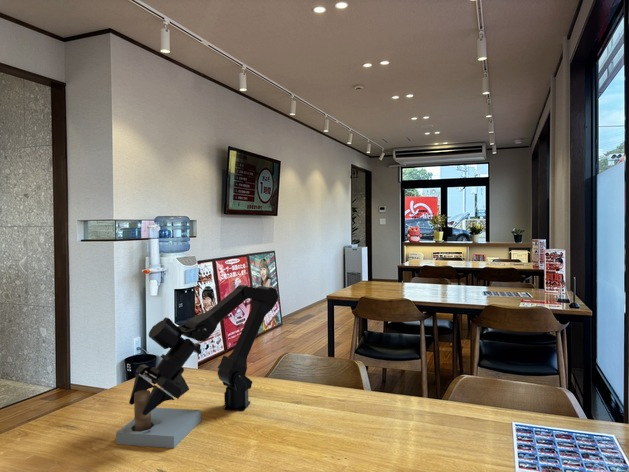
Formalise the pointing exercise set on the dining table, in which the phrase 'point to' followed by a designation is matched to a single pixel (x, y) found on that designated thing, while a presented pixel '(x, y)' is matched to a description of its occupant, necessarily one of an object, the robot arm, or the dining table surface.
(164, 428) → the plate
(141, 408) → the peg
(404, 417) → the dining table surface
